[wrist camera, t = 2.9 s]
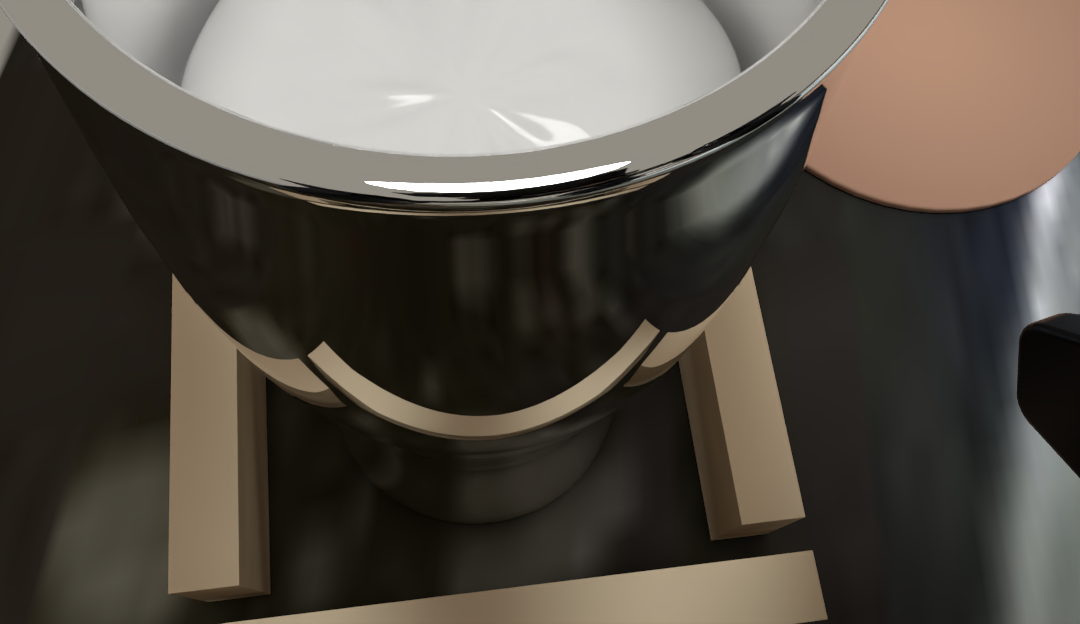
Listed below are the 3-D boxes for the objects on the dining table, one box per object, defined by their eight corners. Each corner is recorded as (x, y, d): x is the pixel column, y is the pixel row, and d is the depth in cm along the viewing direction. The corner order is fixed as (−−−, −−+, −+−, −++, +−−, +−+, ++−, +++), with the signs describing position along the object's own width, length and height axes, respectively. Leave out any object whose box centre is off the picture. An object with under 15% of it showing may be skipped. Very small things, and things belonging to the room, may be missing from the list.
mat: (1031, -120, 26) (1037, -129, 26) (1154, 195, 23) (1162, 189, 22) (686, -101, 25) (688, -110, 25) (760, 230, 22) (763, 224, 22)
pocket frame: (686, 135, 23) (709, 75, 20) (785, 623, 19) (827, 619, 16) (208, 173, 22) (174, 115, 19) (209, 699, 18) (166, 705, 15)
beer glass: (655, 268, 21) (977, -474, 7) (610, 576, 19) (963, 346, 5) (359, 213, 21) (116, -626, 7) (276, 512, 19) (-323, 106, 5)
